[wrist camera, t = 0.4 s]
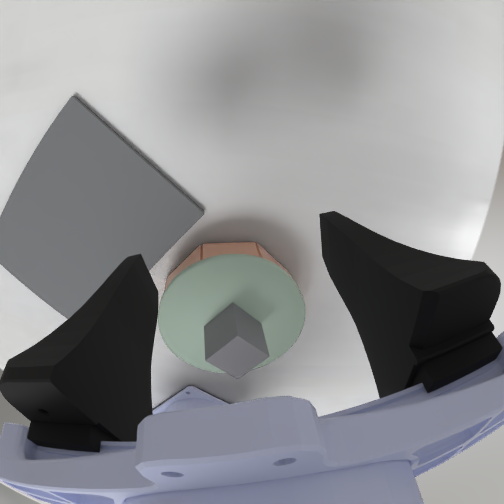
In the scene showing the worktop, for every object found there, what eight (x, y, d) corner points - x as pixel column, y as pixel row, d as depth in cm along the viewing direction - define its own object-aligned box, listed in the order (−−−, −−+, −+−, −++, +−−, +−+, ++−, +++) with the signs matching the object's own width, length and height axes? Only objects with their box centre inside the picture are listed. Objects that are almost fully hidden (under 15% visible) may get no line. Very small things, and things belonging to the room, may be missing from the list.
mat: (92, 331, 26) (91, 335, 26) (-11, 248, 21) (-14, 250, 20) (204, 211, 22) (204, 213, 22) (74, 95, 17) (71, 96, 17)
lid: (232, 382, 27) (237, 420, 23) (131, 320, 22) (121, 360, 19) (328, 310, 25) (348, 347, 21) (231, 221, 20) (238, 253, 16)
